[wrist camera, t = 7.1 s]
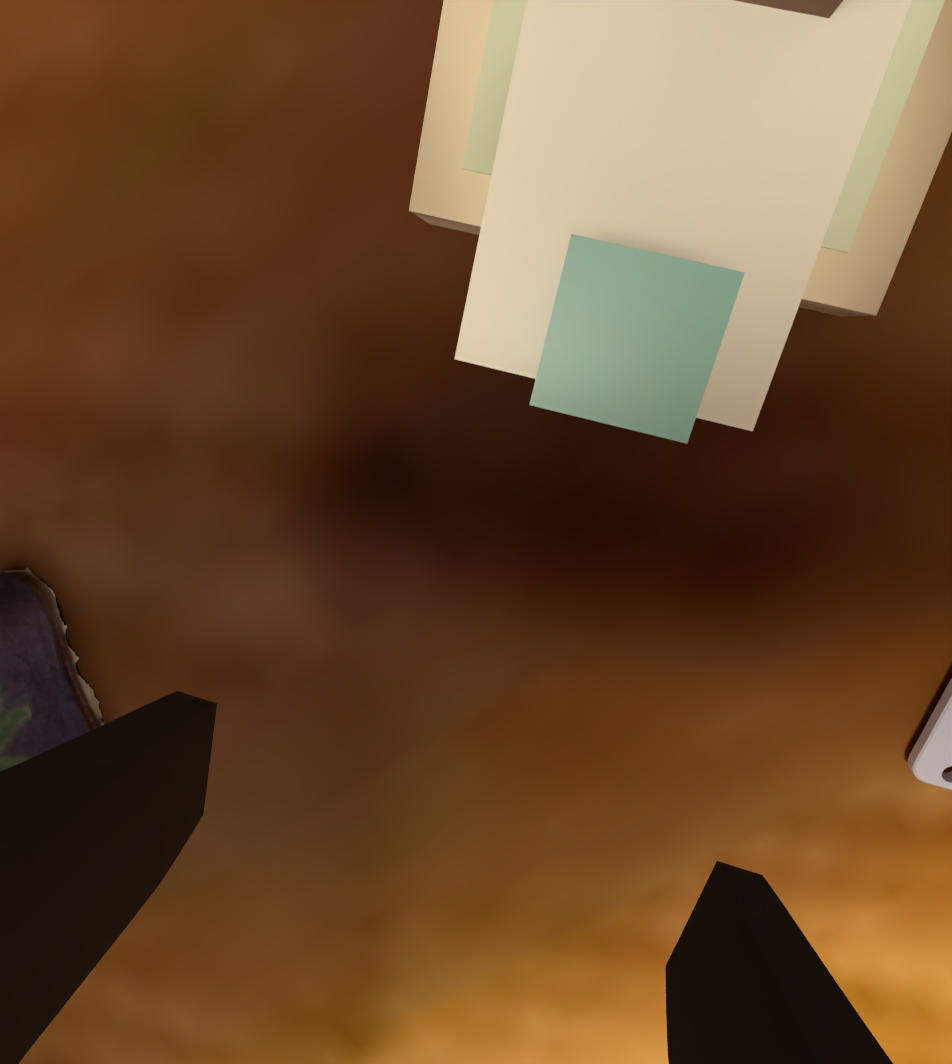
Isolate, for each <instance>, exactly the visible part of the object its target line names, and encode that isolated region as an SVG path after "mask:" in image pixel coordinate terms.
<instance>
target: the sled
mask: <svg viewBox="0 0 952 1064" xmlns="http://www.w3.org/2000/svg"><path fill="white" fill-rule="evenodd" d="M911 1H912V0H843V2H842V3H841V4H840V5H839V6H838V8H837V9H836V10H835V11H834V13H833V14H832V15H831V16H830V18H824V17H819V16H814V15H808V14H803V13H798V12H793V11H787V10H782V9H777V8H771V7H766V6H761V5H756V4H750V3H745V2H740V1H734V0H527V2H526V7H525V12H524V17H523V21H522V26H521V31H520V36H519V41H518V46H517V51H516V56H515V61H514V66H513V71H512V76H511V81H510V86H509V91H508V96H507V101H506V106H505V111H504V116H503V121H502V126H501V131H500V136H499V141H498V146H497V150H496V155H495V160H494V165H493V170H492V175H491V180H490V185H489V190H488V195H487V200H486V205H485V210H484V215H483V220H482V225H481V230H480V235H479V240H478V245H477V250H476V255H475V260H474V265H473V270H472V275H471V279H470V284H469V289H468V294H467V299H466V304H465V309H464V314H463V319H462V324H461V329H460V334H459V339H458V344H457V349H456V354H455V359H456V360H460V361H464V362H468V363H472V364H476V365H480V366H484V367H489V368H493V369H497V370H501V371H505V372H509V373H513V374H518V375H522V376H526V377H530V378H534V379H536V380H535V384H534V388H533V392H532V396H531V400H530V404H529V405H532V406H536V407H540V408H544V409H548V410H552V411H556V412H560V413H564V414H568V415H572V416H576V417H580V418H584V419H589V420H593V421H597V422H601V423H605V424H609V425H613V426H617V427H621V428H625V429H629V430H633V431H637V432H641V433H646V434H650V435H654V436H658V437H662V438H666V439H670V440H674V441H678V442H682V443H686V444H687V443H688V440H689V437H690V434H691V431H692V428H693V425H694V422H695V419H696V418H699V419H703V420H708V421H712V422H716V423H720V424H724V425H728V426H732V427H736V428H741V429H745V430H749V431H753V429H754V427H755V424H756V421H757V418H758V416H759V413H760V410H761V408H762V405H763V402H764V399H765V397H766V394H767V391H768V389H769V386H770V383H771V380H772V378H773V375H774V372H775V370H776V367H777V364H778V361H779V359H780V356H781V353H782V351H783V348H784V345H785V343H786V340H787V337H788V334H789V332H790V329H791V326H792V324H793V321H794V318H795V315H796V313H797V310H798V307H799V305H800V302H801V299H802V296H803V294H804V291H805V288H806V286H807V283H808V280H809V277H810V275H811V272H812V269H813V267H814V264H815V261H816V258H817V256H818V253H819V250H820V248H821V245H822V242H823V240H824V237H825V234H826V231H827V229H828V226H829V223H830V221H831V218H832V215H833V212H834V210H835V207H836V204H837V202H838V199H839V196H840V193H841V191H842V188H843V185H844V183H845V180H846V177H847V174H848V172H849V169H850V166H851V164H852V161H853V158H854V155H855V153H856V150H857V147H858V145H859V142H860V139H861V137H862V134H863V131H864V128H865V126H866V123H867V120H868V118H869V115H870V112H871V109H872V107H873V104H874V101H875V99H876V96H877V93H878V90H879V88H880V85H881V82H882V80H883V77H884V74H885V71H886V69H887V66H888V63H889V61H890V58H891V55H892V52H893V50H894V47H895V44H896V42H897V39H898V36H899V34H900V31H901V28H902V25H903V23H904V20H905V17H906V15H907V12H908V9H909V6H910V4H911Z"/></svg>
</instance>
